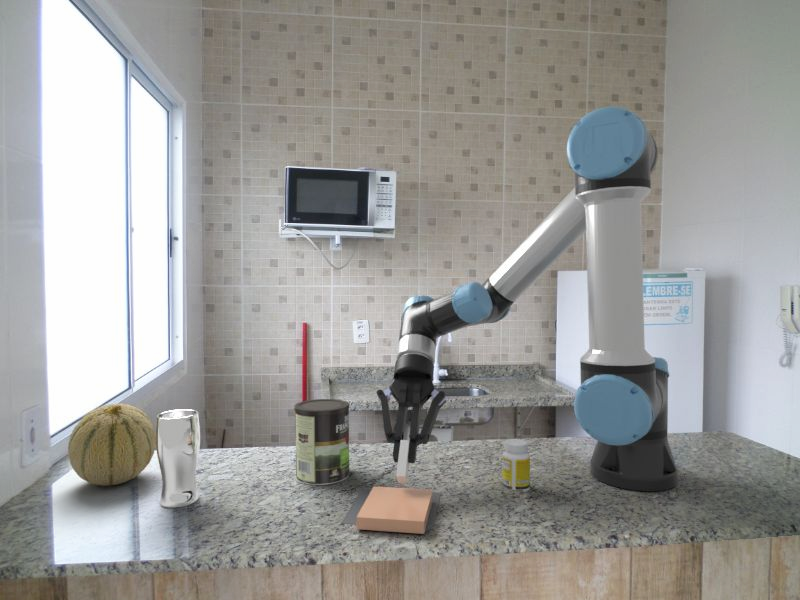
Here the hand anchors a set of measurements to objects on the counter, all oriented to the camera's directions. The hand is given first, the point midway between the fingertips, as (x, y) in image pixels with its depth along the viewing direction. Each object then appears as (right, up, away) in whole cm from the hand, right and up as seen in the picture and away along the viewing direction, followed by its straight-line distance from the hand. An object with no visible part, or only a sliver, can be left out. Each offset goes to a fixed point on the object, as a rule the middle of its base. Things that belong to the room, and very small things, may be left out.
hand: (401, 479), depth 89 cm
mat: (-1, -5, -1) cm, 5 cm away
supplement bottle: (+21, -4, +8) cm, 22 cm away
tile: (0, -3, +1) cm, 3 cm away
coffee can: (-15, -4, +14) cm, 21 cm away
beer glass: (-38, -5, +3) cm, 38 cm away
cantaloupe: (-54, -5, +12) cm, 55 cm away
